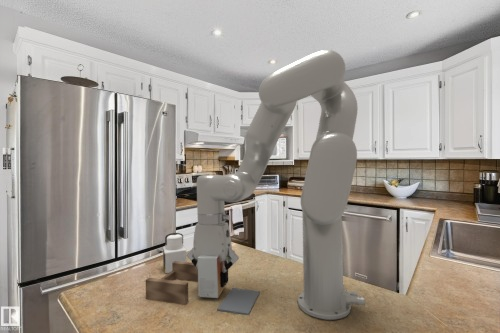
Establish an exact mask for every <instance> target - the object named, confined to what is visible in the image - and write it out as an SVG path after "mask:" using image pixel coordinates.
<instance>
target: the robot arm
mask: <svg viewBox="0 0 500 333" xmlns="http://www.w3.org/2000/svg"><path fill="white" fill-rule="evenodd" d="M345 73H346V63H345V60H344V58H343V56H342V55H341V54H340V53H338V52H337V51H335V50H332V49H331V50H330V49H323V50H319V51H315V52H313V53H311V54H309V55H306V56H304V57H302V58H300V59H298V60H296V61H294V62H291V63H290V64H288V65H286V66H283V67H281V68H279V69H277V70H275V71H274V72H272V73H269V75H267V76H266V77H265V78H264V79H263V80H262V81H261V83H260V84H259V88H258V97H259V100H260V102H261V103H260V104H259V105H258V108H257V110H256V112H255V114H254V116H253V119H252V120H251V123H250V124H249V126H248V128H247V130H246V132H245V141H244V142H245V150H244V151H245V152H244V156H243V158H242V161H241V163H240V166H239V167H238V169H237V171H236V173H229V174H224V175H220V174H202V175H199V176H198V177H197V178H196V207H197V209H196V210H197V211H196V212H197V213H196V214H197V223H196V224H195V226H194V233H193V244H192V245H193V246H192V248H191V249H190V250H189V252H188V253H186V258H188V259H189V261H191V263H193V264H194V266H195V267H196V270H198V260H197V258H198V257H199V256H218V257H219V262H220V267H221V269H222V272H221V273H220V284H221V287H224V286H225V285H226V286H227V283H228V282H229V269H230V268H232V266H233V265H234V264H236V262H238V261H239V259H240V257H239V255H238V254H237V253H236V252H234V251H235V250H233V246H232V239H231V238H232V237H231V232H230V226H229V223H228V222H226V221H230V215H229V214H226V211H225V210H226V209H225V207H226V206H225V202H227V203H237V202H241V201H243V200H245V199H247V198H249V197H250V196H252V195H253V193H254V191H255V190H256V188H257V187H258V185H259V183H260V182H261V179H262V177H263V175H264V174H265V171H266V169H267V166H268V164H269V161H270V159H271V157H272V155H273V153H274V150H275V148H276V145H277V143H278V142H279V139H280V138H281V135H282V133H283V132H284V130H285V127H286V125H287V124H288V122H289V120H290V118H291V116H292V114H293V112H294V110H295V108H296V106H297V102H299V101H302V100H304V99H305V98H308V97H312V98H313V99H314V100H316V101H317V102H318V104H319V105H320V109H321V110H320V111H321V112H320V117H319V123H318V128H317V132H316V136H315V140H314V142H313V143H312V145H311V149H310V152H309V158H308V163H307V168H306V172H305V177H304V182H303V186H302V191H301V195H300V202H299V203H300V206H301V210H302V211H301V212H302V214H301V215H302V263H303V264H302V268H303V271H302V272H303V291H302V292H300V293H299V295H298V297H297V305H298V307H299V309H300V310H302V312H303V313H305V314H307V315H309V316H311V317H314V318H317V319H320V320H328V321H332V320H333V321H334V320H340V319H344V318H346V317H347V316H348V315H349V314H350V313H351V311H352V310H351V309H352V308H351V305H357V306H364V307H365V305H366V302H365V296H363V295H362V296H361V295H359V294H358V292H357V291H348V290H347V289H345V284H344V264H343V263H344V259H343V257H344V255H343V252H344V251H343V243H344V242H343V221H342V216H343V215H344V213H345V211H346V208H347V206H348V203H349V202H348V201H349V197H350V194H351V188H352V184H353V179H354V175H355V170H356V166H357V159H358V152H357V150H358V149H357V146H356V143H355V142H354V141H353V140H354V134H355V129H356V123H357V116H358V107H359V106H358V101H357V98H356V95H355V94H354V91H353V90H352V88H351V87H350V86H349V84H347V83H346V82H345V81H344V77H345ZM227 257H231V258H232V260H231V261H230V262H229V263H228V260H227ZM226 286H225V287H226Z"/></svg>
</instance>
